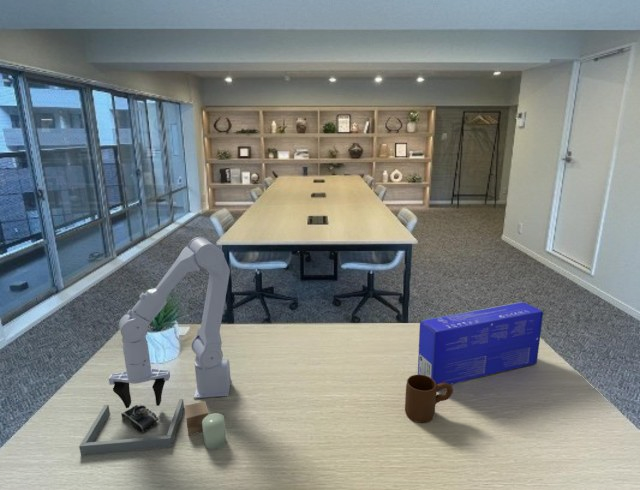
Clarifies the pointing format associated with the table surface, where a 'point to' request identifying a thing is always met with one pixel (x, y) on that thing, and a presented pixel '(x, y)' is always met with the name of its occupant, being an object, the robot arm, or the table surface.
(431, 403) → the mug
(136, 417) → the camera
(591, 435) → the table surface
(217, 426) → the rounded green capsule
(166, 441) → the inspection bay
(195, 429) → the walnut block
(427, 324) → the toner cartridge box
